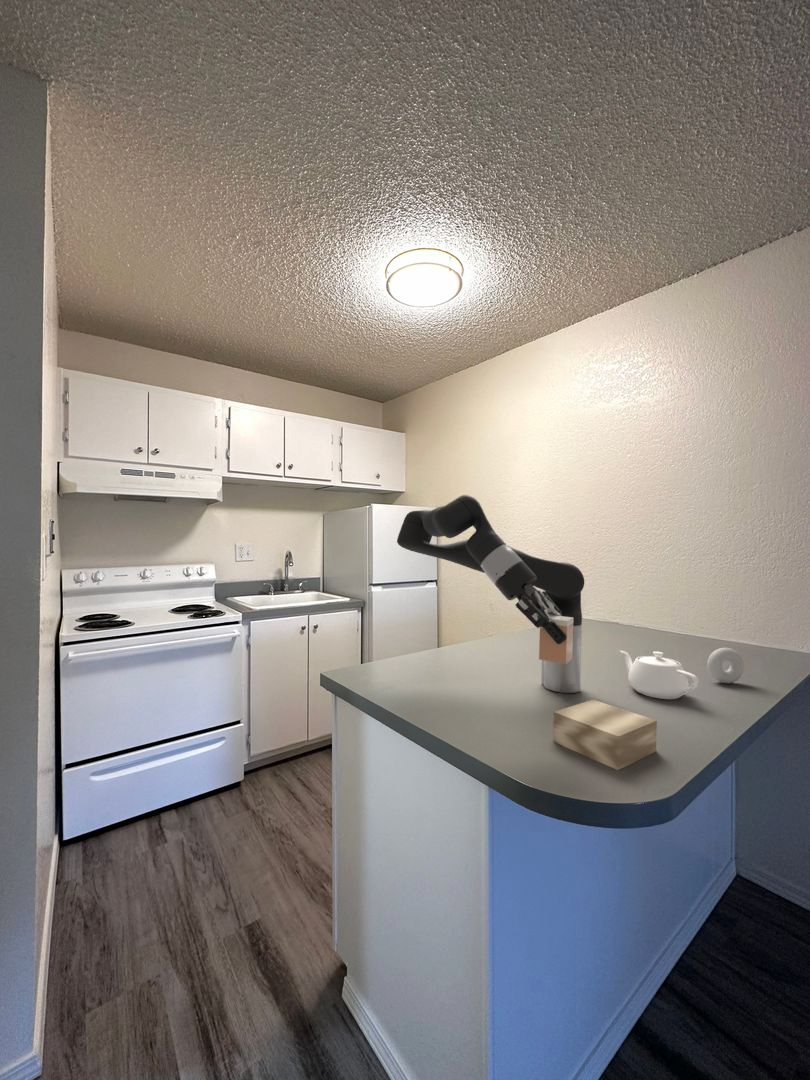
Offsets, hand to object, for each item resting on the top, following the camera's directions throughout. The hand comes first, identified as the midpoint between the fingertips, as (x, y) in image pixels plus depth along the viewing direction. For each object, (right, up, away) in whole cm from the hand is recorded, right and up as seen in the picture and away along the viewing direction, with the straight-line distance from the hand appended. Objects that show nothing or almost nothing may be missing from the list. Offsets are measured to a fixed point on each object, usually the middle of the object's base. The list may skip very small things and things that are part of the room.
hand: (566, 638), depth 86 cm
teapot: (+34, -21, +32) cm, 51 cm away
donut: (+60, -22, +41) cm, 76 cm away
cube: (-2, -4, +1) cm, 5 cm away
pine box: (+7, -21, -1) cm, 22 cm away
